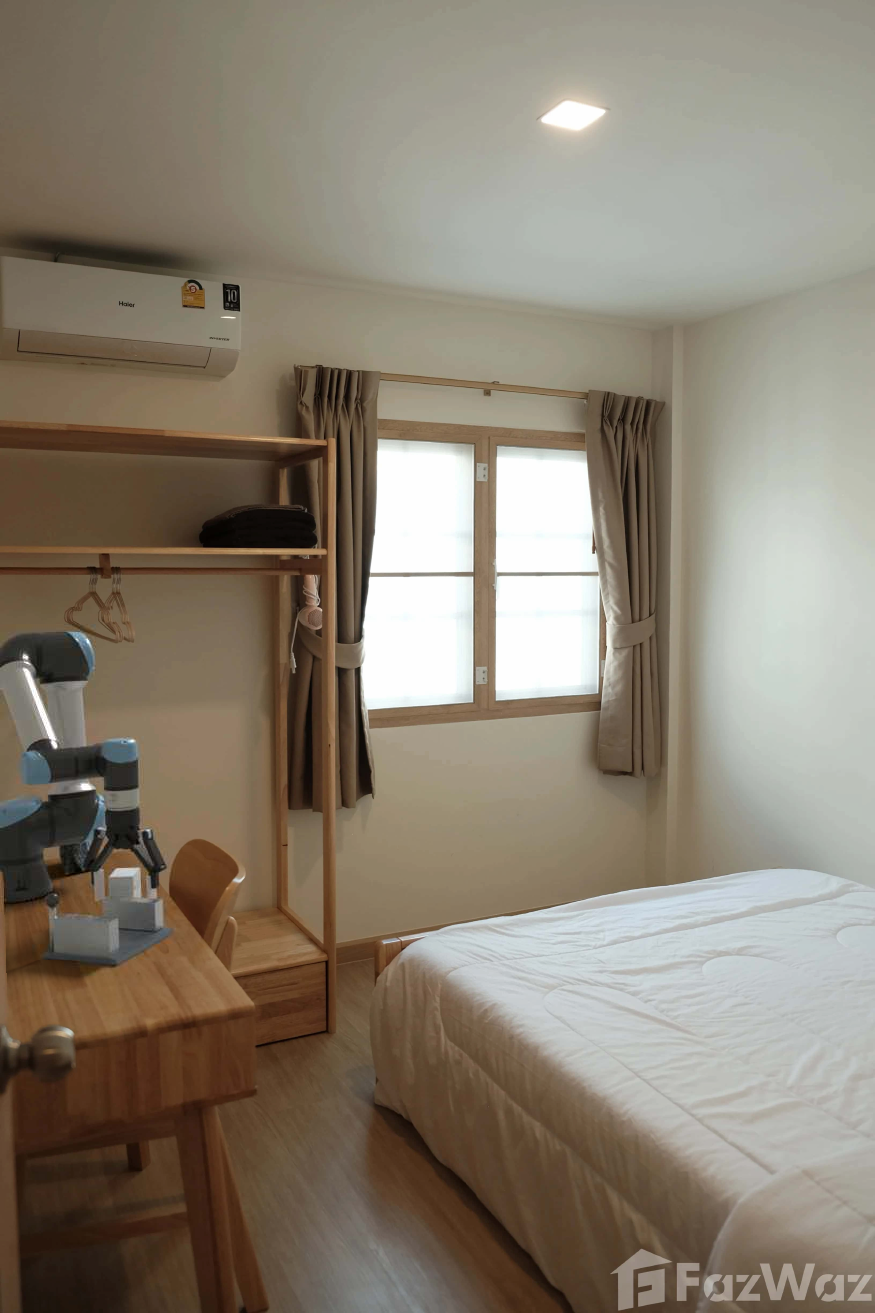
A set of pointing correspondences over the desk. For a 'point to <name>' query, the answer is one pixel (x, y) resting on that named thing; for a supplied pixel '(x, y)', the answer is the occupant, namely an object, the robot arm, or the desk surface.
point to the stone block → (74, 856)
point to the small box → (125, 882)
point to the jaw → (134, 912)
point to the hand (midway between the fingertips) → (125, 901)
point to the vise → (95, 937)
